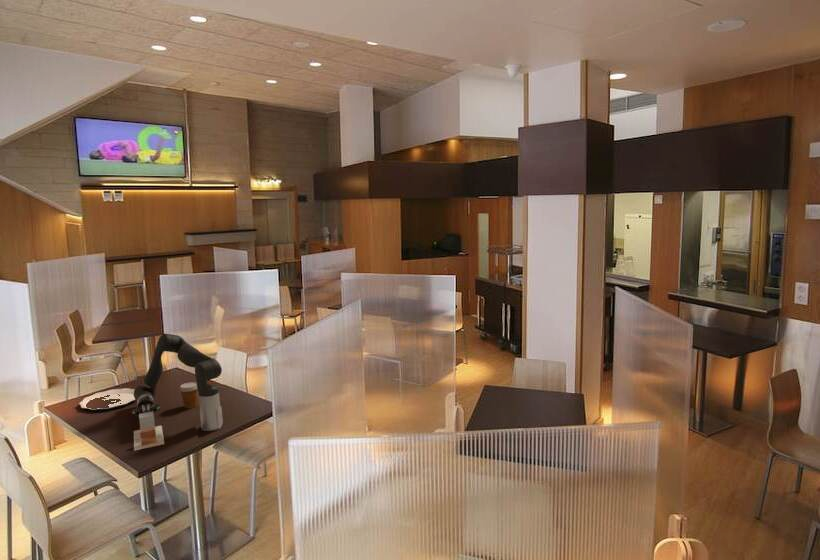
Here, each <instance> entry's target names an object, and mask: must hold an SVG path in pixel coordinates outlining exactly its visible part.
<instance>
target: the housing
mask: <svg viewBox="0 0 820 560" xmlns="http://www.w3.org/2000/svg"><path fill="white" fill-rule="evenodd" d="M140 431H141V430H140V429H138V430H133V451H138V450H139V451H140V450H142V449H147V448H152V447H153V448H154V447H156V446H162V445H165V439H164V433H163V426H162V425H157V426H156V425H155V432H156V443H151V444H147V445H142V444H141V435H140Z"/></svg>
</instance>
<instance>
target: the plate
mask: <svg viewBox="0 0 820 560" xmlns="http://www.w3.org/2000/svg"><path fill="white" fill-rule="evenodd" d="M134 390H135V388H130V387H128V388H127V387H126V388H117V389H116V388H114V389H109V390H105V391H101V392H100V391H99V392H96V393H94V394H92V395H89V396H87V397H84V398H83V400H81V401H80V402H79V403H78V405H79V406H80V408H81V409H86V410H89V409H90V411H96V410H99V411H107V410H108V409H109V410H114V409H118V408H122V407H124V405H125V406H127V405H129V404H130V403H133V402H134V401H137V400H136V399H135V398H134ZM118 394H119V395H120V396H119V395H118ZM107 395H110V396H109V397H104V396H107ZM100 397H104V398H106V399H102V400H104V401H105V400H109V399H120V400H121V401H119V402H117V403H114V404H109V405H108V406H109V408H97V409H91V408H87V407H86V404H87V403H88V402H89V401H90V400H93V399H95V398H100ZM111 402H116V400H115V401H111ZM120 403H121V404H120ZM121 406H122V407H121ZM113 408H114V409H113ZM109 410H108V411H109Z"/></svg>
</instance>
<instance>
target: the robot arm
mask: <svg viewBox="0 0 820 560" xmlns="http://www.w3.org/2000/svg"><path fill="white" fill-rule="evenodd" d="M164 352H168V353H175V354H177V359H178V360H179V361H180V362H181V363H182V364H183V365H185V366H187V367H189V368H194V376H195V381H196V383H197V389H198V395H199V398H198V405H199V406H198V408H199V415H200V427H201V430H202V431H204V432H212V431H216V430H220V429H221V427H222V426H223V424H224V423H223V422H224V419H223V411H222V410H223V408H222V405H221V403H220V401H221V400H220V388H219V386H218V385H217V384H213V383H211V384H210V383H209V384H208V381H210V380H214V379H217V378H219V377H220V376H221V375H222V372H223V370H222V366H221V363H220V362H219V361H218V360H217V359H215V358H213V357H211V356H208V355H207V354H204V353H203V352H201V351H200V350H198V349H197V348H196V347H194V346H193V345H192V344H189V343H188V342H186V340H185V339H184V338H183V337H182V336H180V335H177V334H171V333H163V334H161V335H160V336H159V338H158V341H157V343H156V346H155V349H154V353H153V355H152V360H151V363H150V365H149V368H148V370H147V372H146V374H145V376H144V378H143V384H145V385H147V386H145V385H137V386H136V387H135V388H134V389H135V390H134V398H135V399H136V400H135V401H137V402H136V403H137V406H136V408H133V409H131V415H133V416H137V417H139V414H142V413H147V412H152V411H153V413H154V414H155V413H157V412H158V411H160V410H161V406H160V405H161V404H155V401H154V399H155V398H156V392H157V386H158V383H159V382H160V380H161V377H162V375H163V371H164V366H163V362H162V356H163V353H164Z"/></svg>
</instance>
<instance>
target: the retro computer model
mask: <svg viewBox="0 0 820 560" xmlns="http://www.w3.org/2000/svg"><path fill="white" fill-rule="evenodd" d="M154 414H155V413H153V411H152V412H147V413H142V414H139V416H138V419H139V430H141V431H143V430H148V429H153V428H155V427H156V425H155V415H154Z"/></svg>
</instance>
